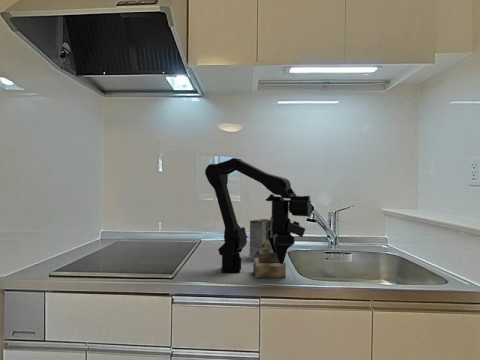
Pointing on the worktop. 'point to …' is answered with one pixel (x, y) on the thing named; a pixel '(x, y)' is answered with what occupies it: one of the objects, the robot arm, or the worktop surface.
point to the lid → (265, 250)
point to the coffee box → (259, 237)
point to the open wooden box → (269, 271)
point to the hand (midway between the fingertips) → (279, 260)
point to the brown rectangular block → (268, 258)
